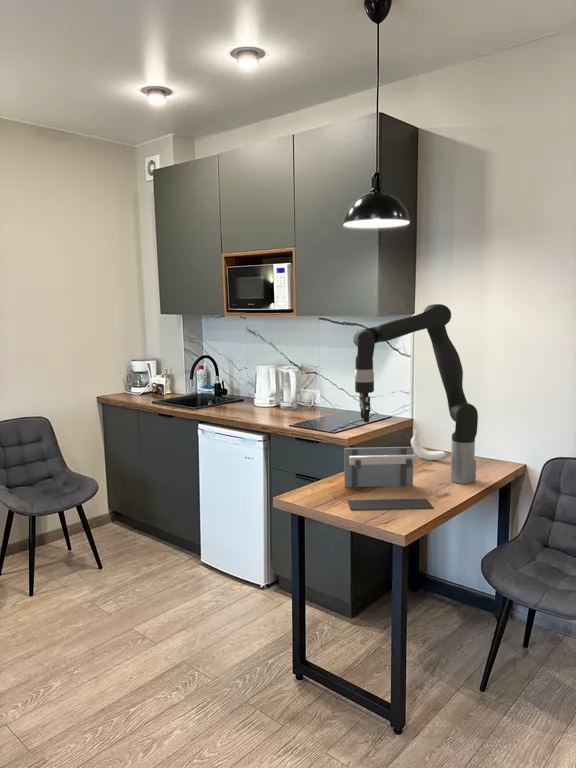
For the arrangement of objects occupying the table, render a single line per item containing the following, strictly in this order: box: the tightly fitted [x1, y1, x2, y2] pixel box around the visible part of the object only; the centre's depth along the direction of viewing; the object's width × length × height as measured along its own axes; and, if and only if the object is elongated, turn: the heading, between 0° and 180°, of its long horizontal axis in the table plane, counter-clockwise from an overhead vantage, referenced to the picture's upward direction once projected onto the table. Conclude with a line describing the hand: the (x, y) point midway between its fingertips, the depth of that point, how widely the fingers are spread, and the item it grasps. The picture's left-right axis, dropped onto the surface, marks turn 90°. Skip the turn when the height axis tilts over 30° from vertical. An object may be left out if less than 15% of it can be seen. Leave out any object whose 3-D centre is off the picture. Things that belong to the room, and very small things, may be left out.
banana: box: [410, 429, 447, 461], centre depth 274 cm, size 5×19×15 cm, turn 49°
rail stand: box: [343, 446, 414, 489], centre depth 228 cm, size 28×13×16 cm, turn 91°
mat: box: [347, 498, 435, 511], centre depth 212 cm, size 30×10×1 cm, turn 91°
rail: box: [349, 454, 418, 465], centre depth 224 cm, size 26×2×3 cm, turn 91°
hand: (365, 420), depth 232 cm, fingers open, 8 cm apart
